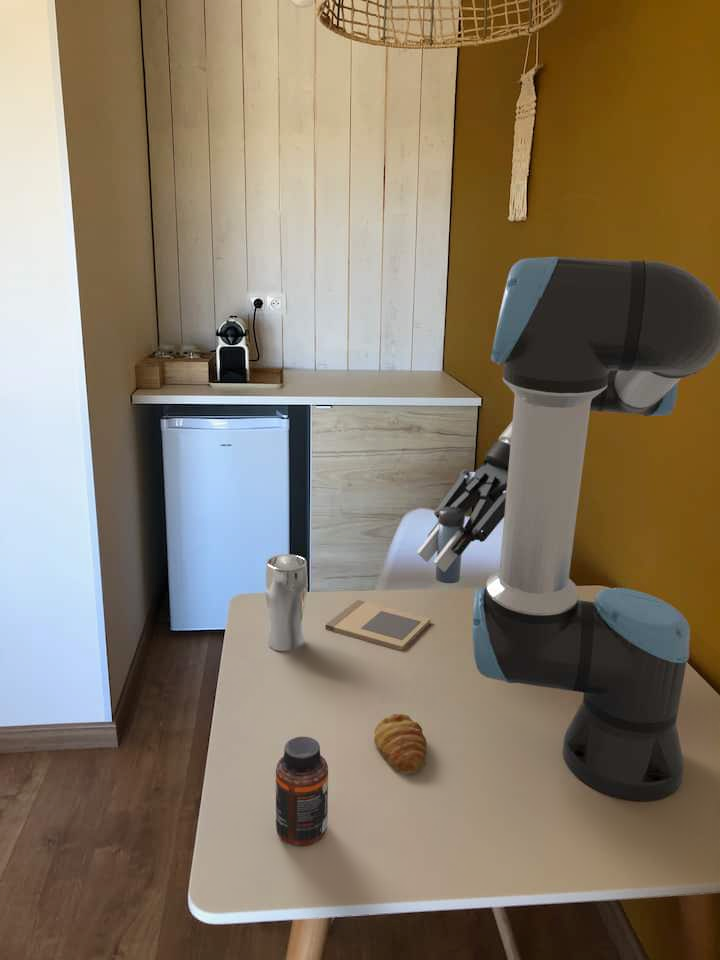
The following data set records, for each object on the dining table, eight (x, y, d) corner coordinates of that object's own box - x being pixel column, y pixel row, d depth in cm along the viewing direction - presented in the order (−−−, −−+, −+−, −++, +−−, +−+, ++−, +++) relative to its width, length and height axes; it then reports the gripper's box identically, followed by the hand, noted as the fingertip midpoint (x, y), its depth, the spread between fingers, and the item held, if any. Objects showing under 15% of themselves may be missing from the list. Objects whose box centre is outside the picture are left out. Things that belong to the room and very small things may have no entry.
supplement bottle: (338, 831, 90) (340, 747, 86) (299, 858, 86) (300, 771, 82) (303, 805, 94) (304, 724, 90) (265, 829, 90) (264, 745, 86)
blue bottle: (454, 585, 127) (459, 516, 124) (431, 580, 129) (435, 511, 126) (463, 576, 131) (468, 509, 127) (440, 571, 132) (445, 505, 129)
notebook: (401, 650, 130) (402, 646, 130) (325, 628, 137) (325, 624, 137) (430, 622, 141) (430, 618, 140) (357, 603, 147) (357, 599, 147)
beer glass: (268, 655, 128) (268, 571, 123) (263, 635, 134) (263, 555, 130) (310, 651, 129) (311, 568, 125) (303, 632, 136) (303, 552, 131)
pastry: (437, 774, 100) (439, 749, 99) (387, 781, 99) (388, 756, 98) (415, 732, 109) (417, 708, 108) (369, 738, 107) (370, 714, 106)
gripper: (561, 479, 126) (475, 593, 122) (492, 455, 140) (412, 556, 136) (540, 451, 122) (450, 567, 118) (471, 429, 135) (388, 533, 132)
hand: (430, 561), depth 127 cm, fingers closed on blue bottle, 4 cm apart
